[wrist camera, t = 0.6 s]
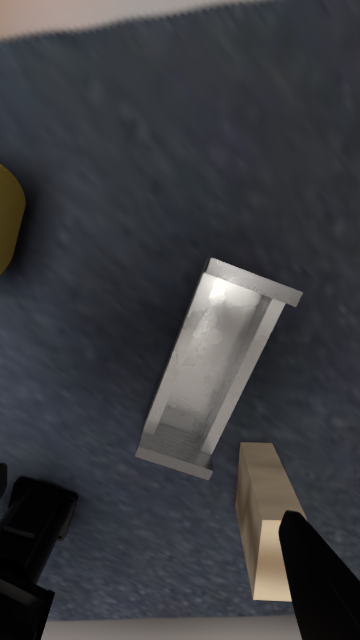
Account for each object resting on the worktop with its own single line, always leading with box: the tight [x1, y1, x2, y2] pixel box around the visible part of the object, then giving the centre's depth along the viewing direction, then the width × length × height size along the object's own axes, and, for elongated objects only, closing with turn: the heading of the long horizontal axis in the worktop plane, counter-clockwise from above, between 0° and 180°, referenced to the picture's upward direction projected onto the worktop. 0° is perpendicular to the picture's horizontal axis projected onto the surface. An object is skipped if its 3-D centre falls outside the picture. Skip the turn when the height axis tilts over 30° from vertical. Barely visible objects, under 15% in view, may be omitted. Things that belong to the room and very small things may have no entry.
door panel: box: [235, 442, 307, 601], centre depth 20 cm, size 8×3×7 cm, turn 0°
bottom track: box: [135, 258, 303, 480], centre depth 19 cm, size 16×6×4 cm, turn 160°
